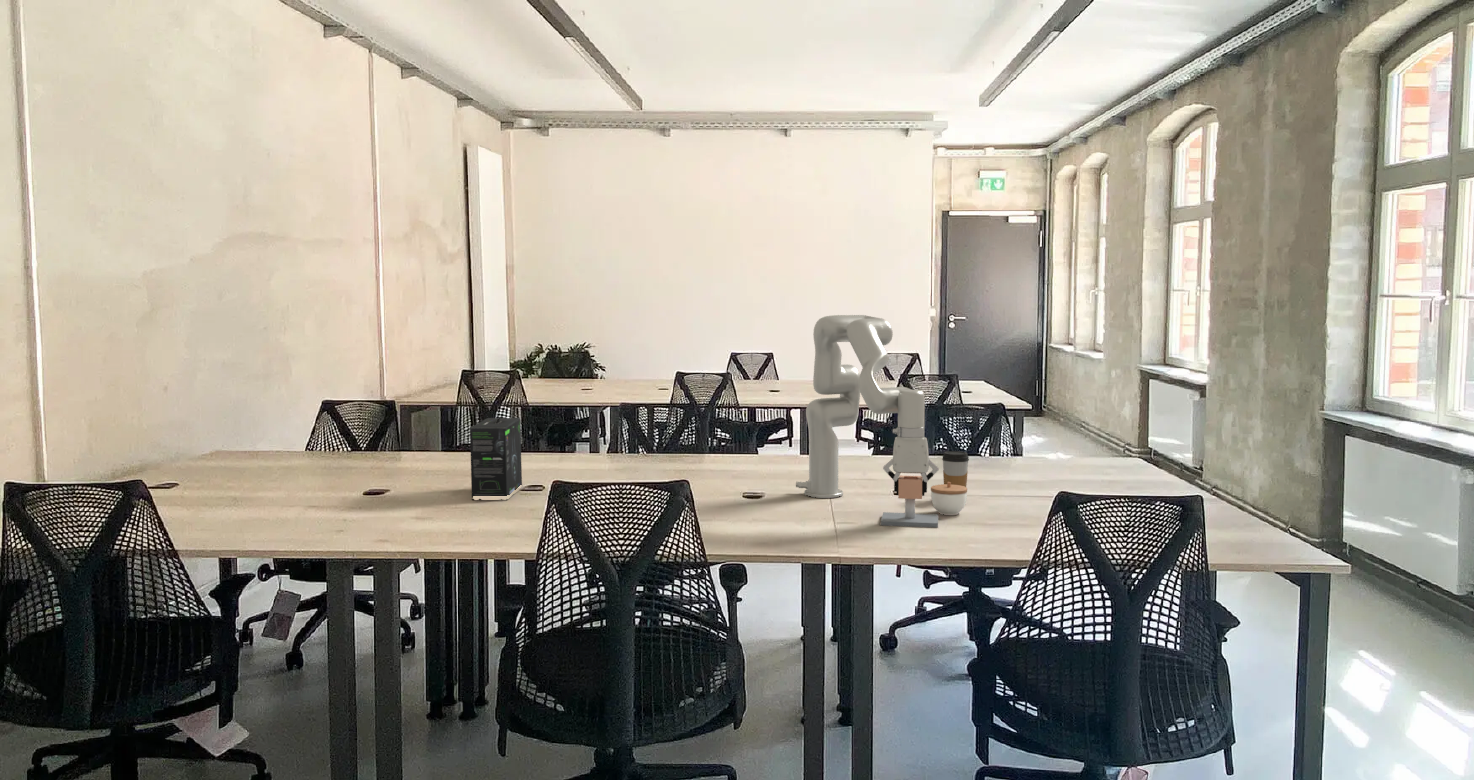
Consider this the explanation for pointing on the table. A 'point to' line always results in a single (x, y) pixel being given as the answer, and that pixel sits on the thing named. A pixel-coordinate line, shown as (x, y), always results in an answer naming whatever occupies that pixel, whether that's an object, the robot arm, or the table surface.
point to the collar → (910, 487)
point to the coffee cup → (955, 467)
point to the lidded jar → (948, 498)
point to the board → (909, 522)
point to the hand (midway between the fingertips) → (910, 494)
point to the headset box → (495, 457)
